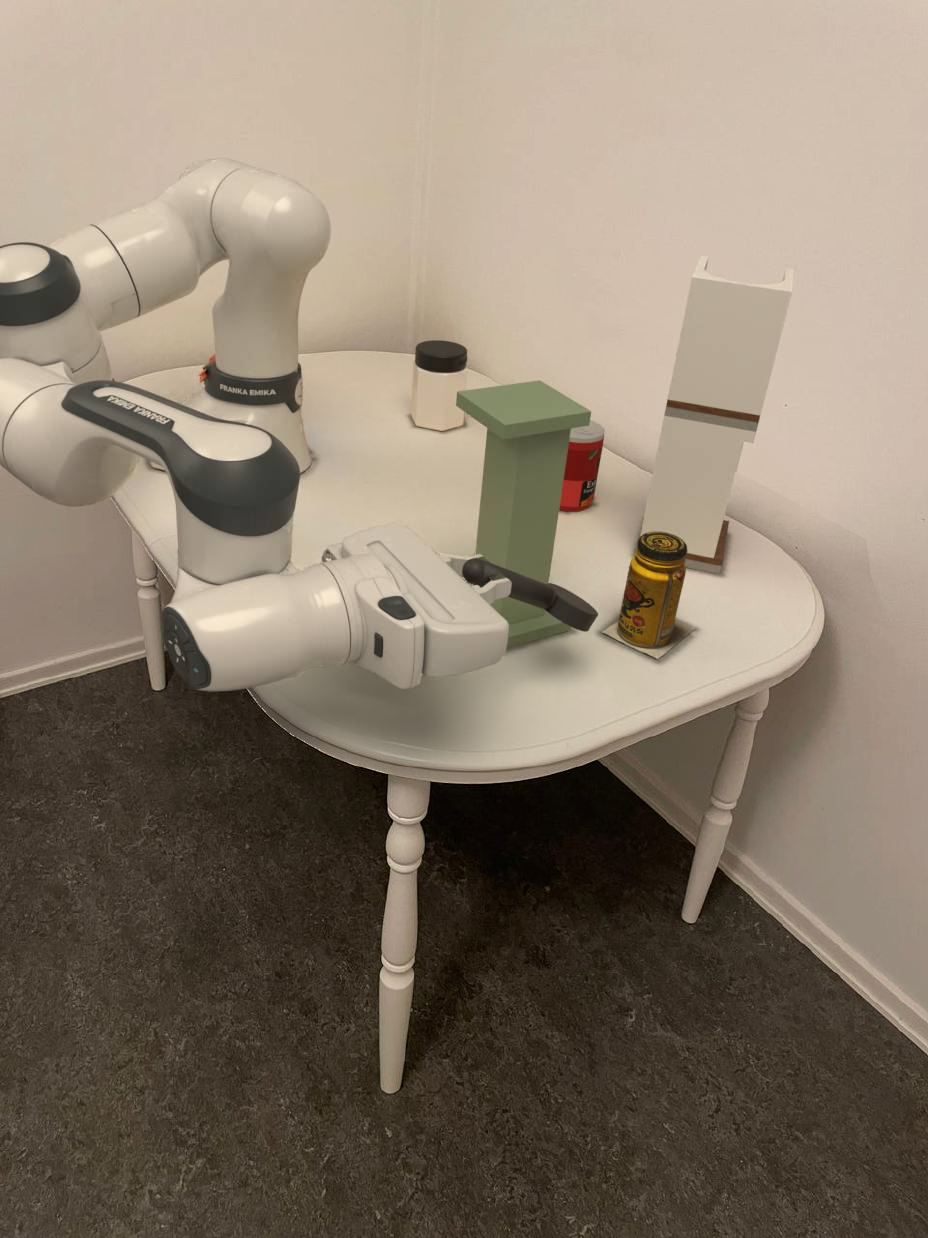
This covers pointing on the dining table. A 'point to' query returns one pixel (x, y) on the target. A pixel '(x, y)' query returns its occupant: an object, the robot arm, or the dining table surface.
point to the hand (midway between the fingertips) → (496, 574)
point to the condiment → (653, 596)
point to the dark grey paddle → (536, 594)
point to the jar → (438, 384)
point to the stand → (522, 488)
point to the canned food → (582, 467)
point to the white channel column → (713, 407)
